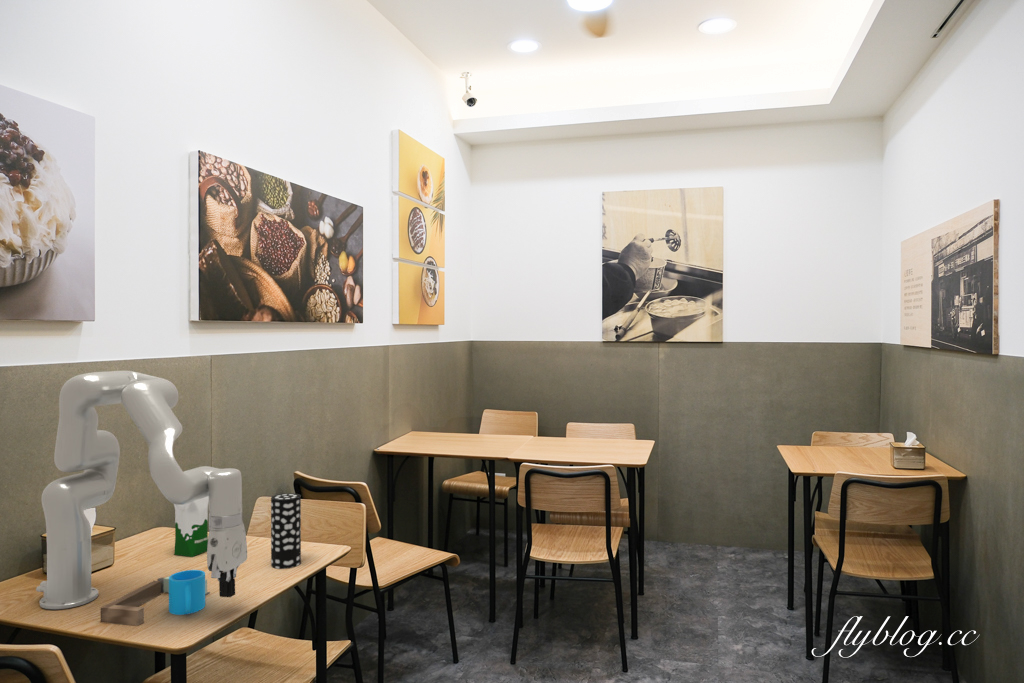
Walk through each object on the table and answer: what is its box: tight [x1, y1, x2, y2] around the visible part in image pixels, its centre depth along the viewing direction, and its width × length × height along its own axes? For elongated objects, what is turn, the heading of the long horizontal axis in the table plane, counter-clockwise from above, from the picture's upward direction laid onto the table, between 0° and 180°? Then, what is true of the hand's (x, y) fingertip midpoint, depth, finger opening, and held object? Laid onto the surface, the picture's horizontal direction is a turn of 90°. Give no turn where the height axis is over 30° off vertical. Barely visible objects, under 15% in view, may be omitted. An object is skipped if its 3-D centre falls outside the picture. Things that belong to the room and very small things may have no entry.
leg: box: [163, 575, 208, 594], centre depth 179 cm, size 12×2×4 cm, turn 77°
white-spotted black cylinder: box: [270, 492, 302, 570], centre depth 202 cm, size 8×8×20 cm
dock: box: [99, 577, 211, 627], centre depth 170 cm, size 14×21×4 cm, turn 169°
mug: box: [168, 569, 206, 616], centre depth 168 cm, size 12×8×8 cm
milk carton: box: [173, 496, 209, 558], centre depth 213 cm, size 9×9×20 cm
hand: (227, 595), depth 166 cm, fingers closed
